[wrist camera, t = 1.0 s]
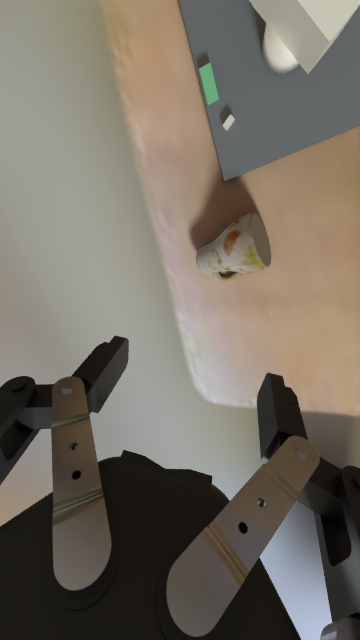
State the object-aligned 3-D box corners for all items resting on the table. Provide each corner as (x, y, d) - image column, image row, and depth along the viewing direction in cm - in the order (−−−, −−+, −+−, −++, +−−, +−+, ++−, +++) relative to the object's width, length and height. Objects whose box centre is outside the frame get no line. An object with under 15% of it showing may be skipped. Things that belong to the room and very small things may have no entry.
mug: (185, 242, 36) (201, 225, 26) (245, 222, 37) (281, 198, 27) (201, 289, 37) (221, 290, 28) (258, 269, 38) (297, 263, 28)
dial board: (386, -180, 18) (406, -228, 16) (385, 114, 25) (399, 108, 23) (174, -19, 23) (168, -39, 21) (225, 181, 31) (224, 181, 29)
